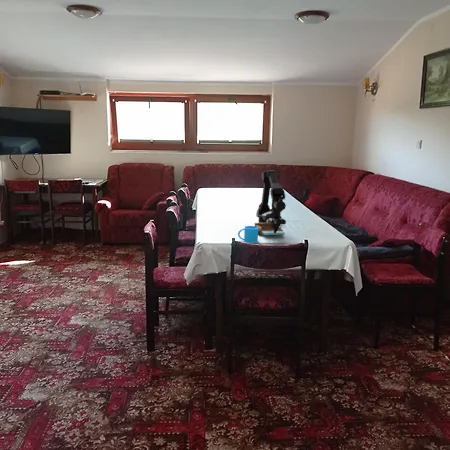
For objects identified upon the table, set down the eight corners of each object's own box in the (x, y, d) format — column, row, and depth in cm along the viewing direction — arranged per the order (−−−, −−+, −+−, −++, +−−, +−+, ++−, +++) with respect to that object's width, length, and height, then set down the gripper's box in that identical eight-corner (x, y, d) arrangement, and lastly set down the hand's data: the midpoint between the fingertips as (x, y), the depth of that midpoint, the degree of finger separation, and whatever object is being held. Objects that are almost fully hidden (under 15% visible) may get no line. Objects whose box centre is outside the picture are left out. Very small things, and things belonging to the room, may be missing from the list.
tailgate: (260, 231, 260) (264, 233, 254) (281, 230, 264) (285, 232, 258) (260, 233, 261) (264, 235, 254) (281, 232, 264) (285, 234, 258)
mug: (256, 239, 252) (257, 225, 250) (258, 242, 244) (259, 229, 242) (236, 238, 251) (237, 225, 249) (238, 242, 243) (239, 228, 241)
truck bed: (252, 231, 272) (253, 222, 271) (276, 230, 276) (276, 222, 275) (258, 235, 261) (259, 226, 259) (283, 234, 265) (283, 226, 264)
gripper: (258, 205, 260) (257, 229, 263) (269, 210, 242) (267, 236, 245) (275, 205, 262) (274, 229, 266) (287, 210, 245) (285, 236, 248)
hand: (274, 232), depth 256 cm, fingers closed
